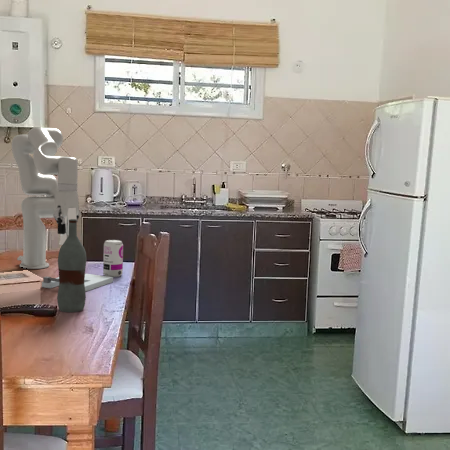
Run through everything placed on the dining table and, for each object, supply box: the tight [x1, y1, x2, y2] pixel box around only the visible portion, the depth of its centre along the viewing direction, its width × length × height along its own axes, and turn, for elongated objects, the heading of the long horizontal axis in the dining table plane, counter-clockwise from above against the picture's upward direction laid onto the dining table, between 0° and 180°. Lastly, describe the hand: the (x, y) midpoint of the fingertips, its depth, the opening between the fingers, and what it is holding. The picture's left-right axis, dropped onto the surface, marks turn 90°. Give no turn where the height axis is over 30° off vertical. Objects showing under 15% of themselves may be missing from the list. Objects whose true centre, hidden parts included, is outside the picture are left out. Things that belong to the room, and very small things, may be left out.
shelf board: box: [41, 272, 114, 293], centre depth 220 cm, size 18×22×4 cm
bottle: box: [56, 219, 87, 313], centre depth 184 cm, size 9×9×30 cm
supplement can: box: [102, 239, 124, 278], centre depth 240 cm, size 8×8×15 cm
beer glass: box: [58, 207, 76, 246], centre depth 222 cm, size 7×7×15 cm
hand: (67, 232), depth 223 cm, fingers closed on beer glass, 6 cm apart
